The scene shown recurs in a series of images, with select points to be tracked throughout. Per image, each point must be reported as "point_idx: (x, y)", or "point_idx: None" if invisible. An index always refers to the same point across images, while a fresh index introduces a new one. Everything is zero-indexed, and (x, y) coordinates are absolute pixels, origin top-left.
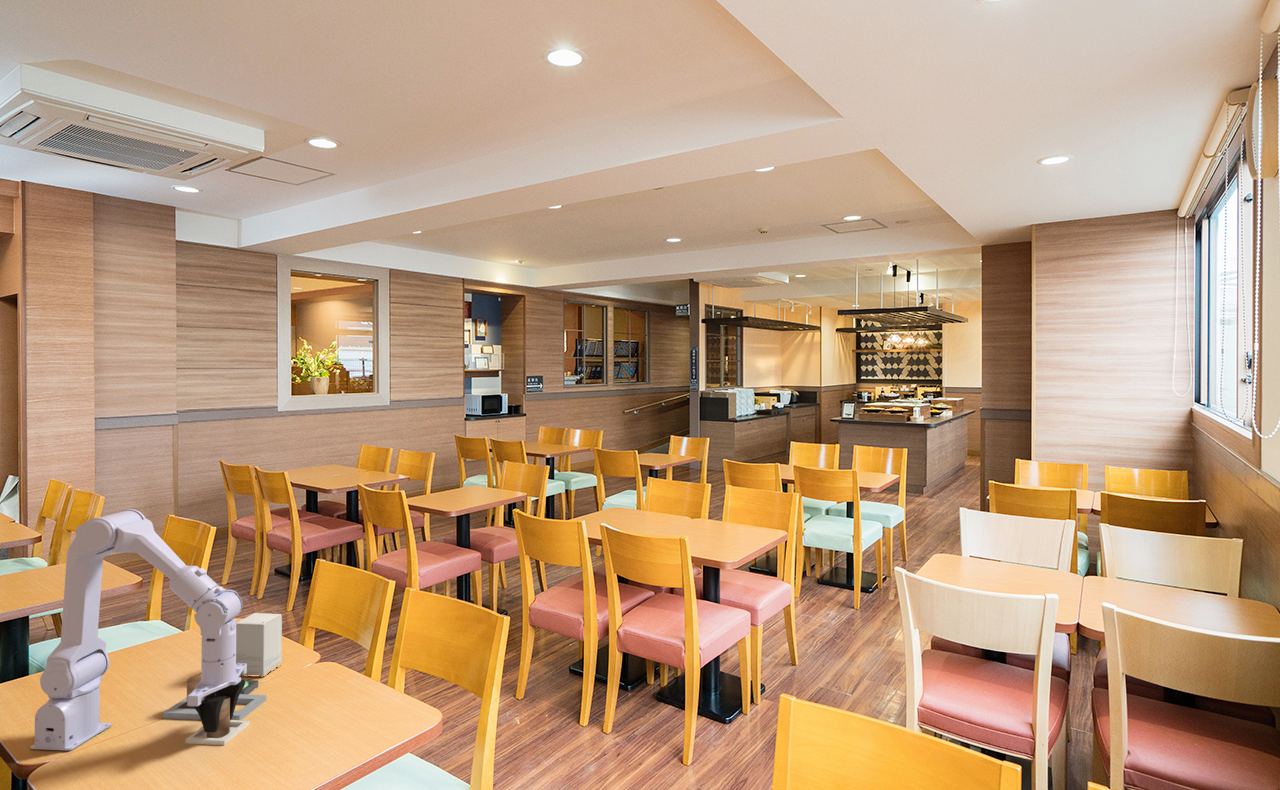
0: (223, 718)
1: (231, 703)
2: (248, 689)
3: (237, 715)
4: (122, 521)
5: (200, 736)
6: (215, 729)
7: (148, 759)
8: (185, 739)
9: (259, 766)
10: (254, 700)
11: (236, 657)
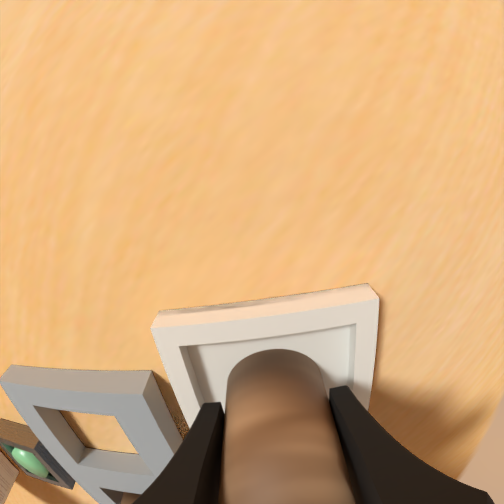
0: (311, 422)
1: (205, 479)
2: (21, 440)
3: (145, 403)
4: None
5: None
6: (351, 392)
7: (428, 430)
8: None
9: (460, 17)
10: (37, 400)
11: (2, 500)
